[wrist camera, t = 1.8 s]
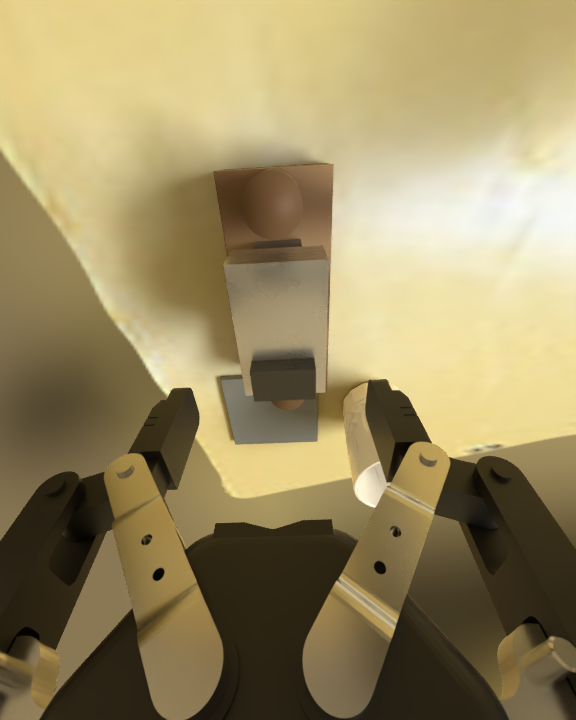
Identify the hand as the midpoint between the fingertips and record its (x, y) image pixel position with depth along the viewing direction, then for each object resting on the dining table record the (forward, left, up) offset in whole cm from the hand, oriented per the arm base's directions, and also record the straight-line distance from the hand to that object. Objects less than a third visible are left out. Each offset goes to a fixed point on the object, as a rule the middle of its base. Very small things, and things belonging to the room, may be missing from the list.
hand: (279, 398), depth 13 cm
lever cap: (0, 0, -8) cm, 8 cm away
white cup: (+14, +9, -15) cm, 22 cm away
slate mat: (+14, -2, -14) cm, 20 cm away
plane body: (0, 0, -14) cm, 14 cm away
